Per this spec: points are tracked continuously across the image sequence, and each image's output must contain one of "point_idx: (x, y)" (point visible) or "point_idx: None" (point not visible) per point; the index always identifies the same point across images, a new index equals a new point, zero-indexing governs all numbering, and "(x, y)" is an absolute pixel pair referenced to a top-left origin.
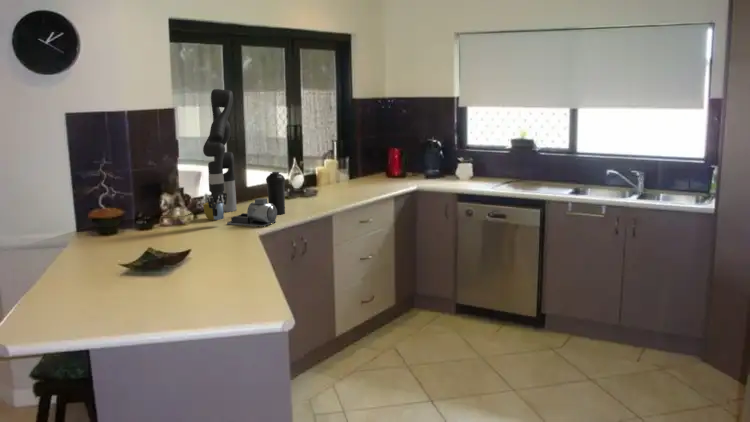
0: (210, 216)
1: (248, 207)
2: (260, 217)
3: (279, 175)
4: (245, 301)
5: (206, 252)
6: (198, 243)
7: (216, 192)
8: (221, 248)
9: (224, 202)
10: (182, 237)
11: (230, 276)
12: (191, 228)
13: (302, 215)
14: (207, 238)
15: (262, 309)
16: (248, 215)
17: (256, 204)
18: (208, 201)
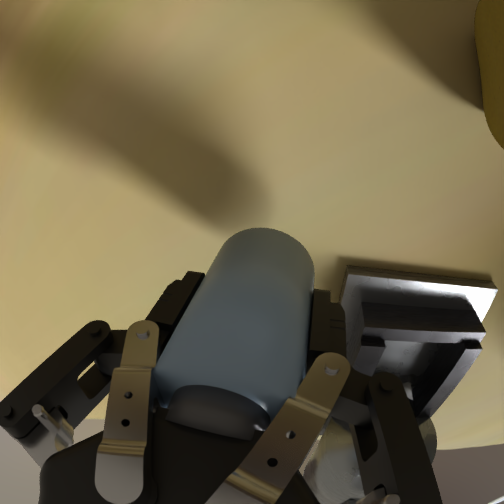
0: (483, 56)
1: (337, 474)
2: (312, 454)
3: None
4: (3, 397)
5: (6, 340)
6: (11, 296)
7: None
8: (36, 362)
9: (353, 430)
10: (3, 190)
11: (7, 386)
12: (136, 65)
13: (492, 432)
14: (47, 299)
15: None
16: (325, 432)
17: (346, 500)
18: (28, 386)
